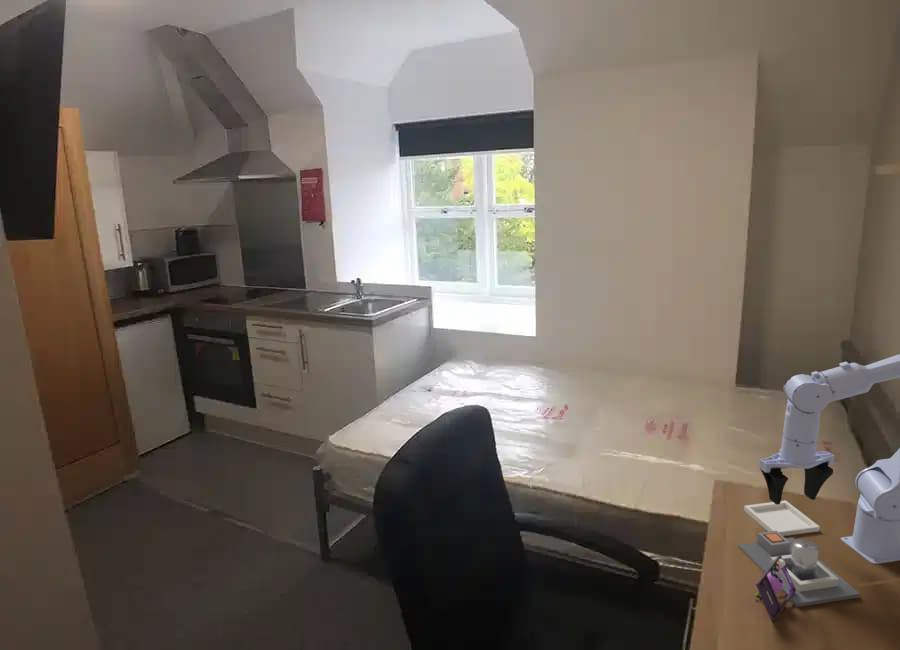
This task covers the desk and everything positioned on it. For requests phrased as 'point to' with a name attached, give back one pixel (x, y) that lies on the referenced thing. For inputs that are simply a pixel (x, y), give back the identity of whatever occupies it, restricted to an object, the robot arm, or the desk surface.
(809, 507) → the desk surface
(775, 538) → the button
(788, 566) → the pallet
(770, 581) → the eggplant monster toy
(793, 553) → the cylinder
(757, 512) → the tray
